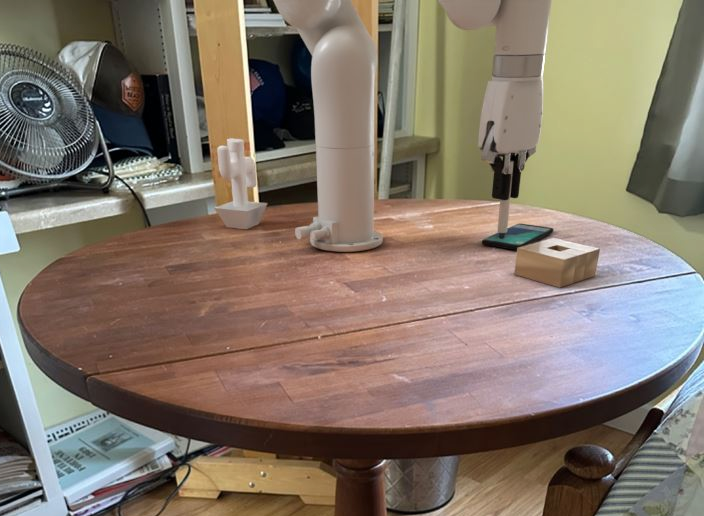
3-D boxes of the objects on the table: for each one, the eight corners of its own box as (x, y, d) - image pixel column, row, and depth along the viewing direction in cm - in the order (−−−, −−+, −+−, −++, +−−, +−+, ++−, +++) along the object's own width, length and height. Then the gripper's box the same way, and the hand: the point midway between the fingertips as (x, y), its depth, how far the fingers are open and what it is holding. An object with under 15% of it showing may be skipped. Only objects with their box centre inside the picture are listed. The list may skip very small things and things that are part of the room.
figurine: (271, 221, 136) (266, 136, 127) (245, 233, 128) (237, 143, 120) (240, 218, 138) (232, 134, 130) (212, 229, 131) (202, 141, 123)
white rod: (502, 239, 118) (509, 162, 111) (495, 238, 119) (501, 161, 113) (508, 237, 119) (515, 161, 112) (501, 236, 120) (508, 160, 113)
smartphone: (555, 228, 125) (518, 246, 115) (554, 232, 125) (518, 251, 115) (518, 222, 128) (479, 240, 118) (518, 227, 129) (479, 244, 119)
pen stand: (559, 287, 100) (564, 259, 98) (513, 274, 105) (517, 247, 103) (595, 276, 104) (600, 248, 102) (549, 263, 110) (553, 237, 107)
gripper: (532, 65, 112) (518, 188, 122) (463, 71, 104) (454, 201, 114) (571, 66, 107) (553, 194, 117) (501, 72, 99) (489, 209, 109)
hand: (504, 197), depth 115 cm, fingers closed on white rod, 1 cm apart
